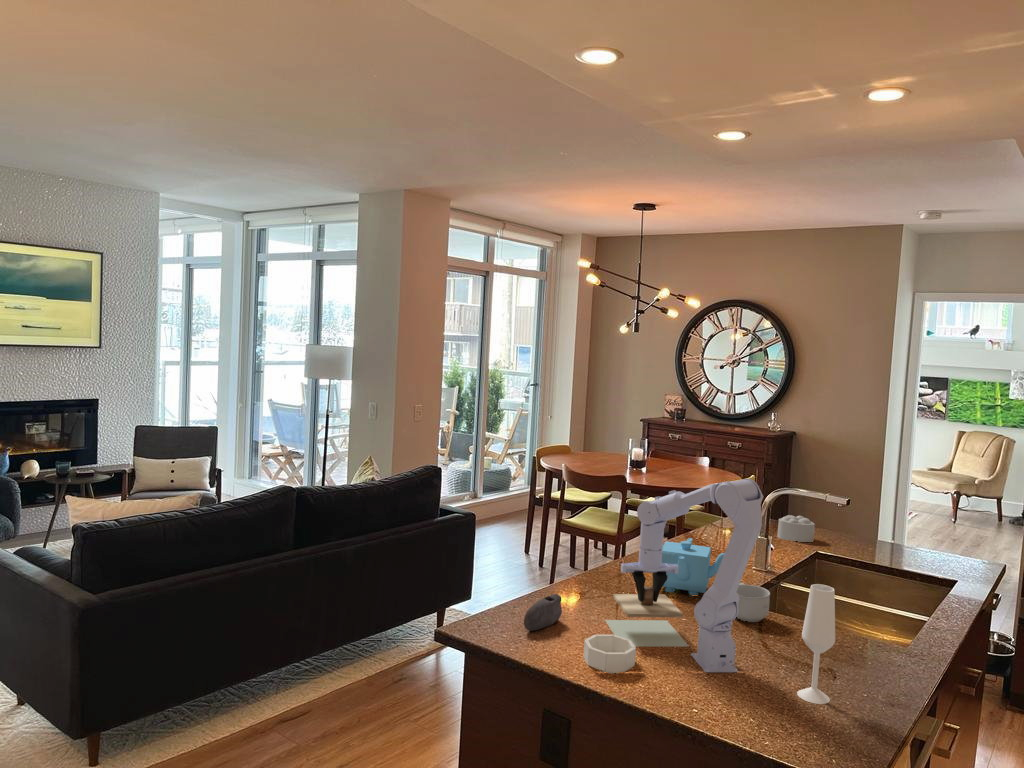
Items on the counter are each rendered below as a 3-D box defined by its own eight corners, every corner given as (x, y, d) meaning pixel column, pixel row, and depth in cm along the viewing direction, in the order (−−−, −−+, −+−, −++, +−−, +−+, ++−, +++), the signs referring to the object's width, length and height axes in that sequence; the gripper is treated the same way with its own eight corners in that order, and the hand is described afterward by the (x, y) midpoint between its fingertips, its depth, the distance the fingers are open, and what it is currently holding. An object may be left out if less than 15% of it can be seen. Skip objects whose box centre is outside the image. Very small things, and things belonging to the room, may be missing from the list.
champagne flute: (799, 701, 166) (809, 591, 164) (794, 687, 172) (803, 581, 171) (833, 705, 164) (842, 594, 163) (826, 691, 171) (835, 584, 169)
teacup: (770, 628, 208) (772, 598, 207) (728, 622, 210) (730, 593, 209) (764, 610, 221) (766, 582, 221) (724, 605, 224) (727, 578, 223)
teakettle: (640, 583, 240) (643, 536, 239) (688, 577, 248) (691, 531, 247) (679, 604, 223) (683, 553, 222) (730, 597, 231) (733, 548, 230)
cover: (683, 617, 192) (684, 598, 191) (627, 617, 190) (629, 597, 189) (664, 597, 206) (665, 579, 205) (613, 596, 204) (614, 578, 203)
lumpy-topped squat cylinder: (784, 533, 314) (786, 512, 313) (817, 540, 305) (819, 518, 305) (774, 537, 306) (776, 516, 305) (808, 545, 297) (810, 522, 297)
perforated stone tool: (531, 637, 192) (533, 609, 192) (515, 631, 196) (516, 604, 195) (566, 621, 204) (568, 595, 204) (550, 616, 207) (552, 590, 207)
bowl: (638, 673, 175) (640, 653, 175) (591, 673, 174) (592, 653, 173) (625, 653, 186) (626, 634, 186) (580, 653, 184) (581, 634, 184)
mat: (689, 647, 191) (689, 646, 191) (622, 647, 189) (622, 646, 189) (666, 621, 208) (666, 620, 208) (604, 621, 206) (604, 619, 206)
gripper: (673, 543, 201) (669, 595, 202) (618, 542, 200) (615, 594, 201) (682, 551, 195) (679, 604, 195) (626, 550, 193) (622, 604, 194)
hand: (647, 600), depth 198 cm, fingers closed on cover, 3 cm apart
